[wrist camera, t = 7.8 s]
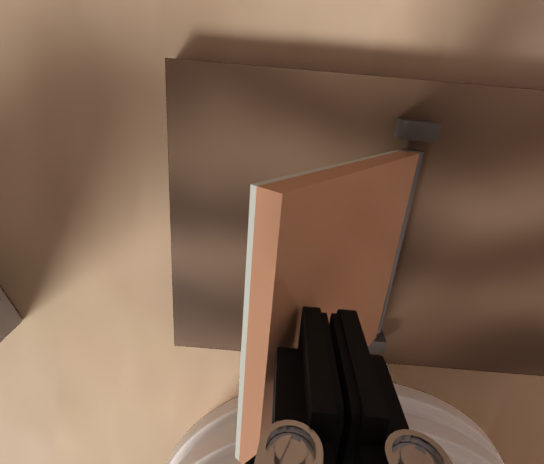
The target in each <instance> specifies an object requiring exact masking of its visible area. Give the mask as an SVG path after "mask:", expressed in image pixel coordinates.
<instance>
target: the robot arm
mask: <svg viewBox="0 0 544 464" xmlns="http://www.w3.org/2000/svg"><path fill="white" fill-rule="evenodd" d="M245 464H453V463H452V461H451V460H450V458H449V456H448V455H447V454H446V452H445V451H444V450H443V448H442V447H441V446H440V445H439V444H438V443H437V442H435V441H434V440H433V439H432V438H430V437H428V436H427V435H425V434H423V433H421V432H418V431H415V430H410V429H409V426H408V424H407V421H406V418H405V415H404V413H403V410H402V407H401V404H400V401H399V399H398V396H397V393H396V390H395V388H394V385H393V382H392V379H391V377H390V374H389V371H388V368H387V365H386V363H385V360H384V358H383V356H381V355H374V354H370V352H369V349H368V346H367V343H366V339H365V336H364V333H363V330H362V327H361V324H360V320H359V317H358V314H357V311H356V310H345V309H338V310H337V313H331V316H330V322H329V321H328V316H327V313H324V312H321V308H319V307H306V306H303V308H302V315H301V324H300V332H299V341H298V348H286V347H277V350H276V360H275V372H274V386H273V407H272V424H271V425H270V426H268V428H267V429H266V430H265V431H264V432H263V434H262V436H261V438H260V441H259V445H258V449H257V453H256V455H255V456H254V457H252V458H251V459H250V460H249V461H247V462H246V463H245Z"/></svg>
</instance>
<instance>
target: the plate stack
mask: <svg viewBox="0 0 544 464" xmlns="http://www.w3.org/2000/svg"><path fill="white" fill-rule="evenodd" d="M393 385H394V388H395V390H396V393H397V396H398V399H399V401H400V404H401V407H402V410H403V413H404V415H405V418H406V421H407V424H408V426H409V429H410V430H415V431H418V432H421V433H423V434H425V435H427V436H428V437H430V438H432V439H433V440H434V441H435V442H437V443H438V444H439V445H440V446H441V447H442V448H443V450H444V451H445V452H446V454H447V455H448V456H449V458H450V460H451V461H452V463H453V464H504V462H503V460H502V459H501V457H500V455H499V453H498V452H497V450H496V448H495V447H494V445H493V443H492V442H491V440H490V439H489V438H488V436H487V435H486V434H485V433H484V432H483V430H482V429H481V428H480V427H479V426H478V425H477V424H476V423H475V422H473V421H472V420H471V419H470V418H469V417H467V416H466V415H465V414H464V413H462V412H461V411H459V410H458V409H456V408H455V407H453V406H451V405H450V404H448V403H446V402H444V401H442V400H440V399H438V398H436V397H434V396H432V395H429V394H427V393H424V392H422V391H419V390H416V389H413V388H410V387H406V386H403V385H399V384H395V383H393ZM237 412H238V397H237V398H234V399H232V400H230V401H228V402H226V403H224V404H223V405H221V406H219V407H217V408H216V409H214V410H213V411H211V412H210V413H208V414H207V415H205V416H204V417H203V418H202V419H200V420H199V421H198V422H197V423H196V424H194V425H193V426H192V427H191V428H190V429H189V430H188V431H187V432H186V434H185V435H184V436H183V437H182V438H181V440H180V441H179V442H178V444H177V445H176V447H175V448H174V450H173V452H172V454H171V456H170V458H169V460H168V463H167V464H242V463H241V462H239V461H238V460H237V459H236V458H235V447H236V429H237Z"/></svg>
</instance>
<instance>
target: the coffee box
mask: <svg viewBox="0 0 544 464" xmlns="http://www.w3.org/2000/svg"><path fill="white" fill-rule="evenodd" d="M21 322H22V319H21V317H20V315H19V314H18V312H17V311H16V309H15V308H14V306H13V305H12V303H11V302H10V301H9V299H8V298H7V296H6V295H5V293H4V292H3V290H2V289H1V287H0V342H1V341H2V340H3V339H4V338H5V337H6V336H7V335H8V334H9V333H10V332H11V331H12V330H14V329H15V328H16V327H17V326H18V325H19V324H20V323H21Z"/></svg>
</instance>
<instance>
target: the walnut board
mask: <svg viewBox="0 0 544 464" xmlns="http://www.w3.org/2000/svg"><path fill="white" fill-rule="evenodd" d="M165 69H166V100H167V131H168V162H169V193H170V224H171V255H172V286H173V317H174V346H185V347H197V348H209V349H222V350H234V351H241V342H242V325H243V307H244V290H245V273H246V255H247V238H248V220H249V203H250V185H251V184H254V183H258V182H262V181H267V180H271V179H275V178H279V177H284V176H288V175H292V174H296V173H301V172H305V171H309V170H313V169H318V168H322V167H326V166H330V165H335V164H339V163H343V162H347V161H352V160H356V159H360V158H364V157H369V156H373V155H377V154H381V153H386V152H390V151H394V150H401V149H403V148H407V149H416V150H421V151H424V155H423V159H422V163H421V167H420V172H419V176H418V180H417V184H416V188H415V192H414V197H413V201H412V205H411V209H410V213H409V217H408V222H407V226H406V230H405V234H404V238H403V242H402V247H401V251H400V255H399V259H398V263H397V267H396V272H395V276H394V280H393V284H392V288H391V292H390V297H389V301H388V305H387V309H386V313H385V317H384V321H383V326H382V330H381V332H380V333H379V334H377V336H376V338H375V339H374V341H373V342H372V343H371V344H370V345H369V346H368V349H369V352H370V354H374V355H381V356H383V358H384V360H385V363H391V364H403V365H415V366H428V367H440V368H452V369H464V370H476V371H488V372H500V373H512V374H524V375H537V376H544V90H535V89H523V88H512V87H500V86H488V85H476V84H465V83H453V82H441V81H430V80H418V79H406V78H395V77H383V76H371V75H360V74H348V73H336V72H325V71H313V70H301V69H290V68H278V67H266V66H255V65H243V64H231V63H220V62H208V61H196V60H185V59H173V58H165Z"/></svg>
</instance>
